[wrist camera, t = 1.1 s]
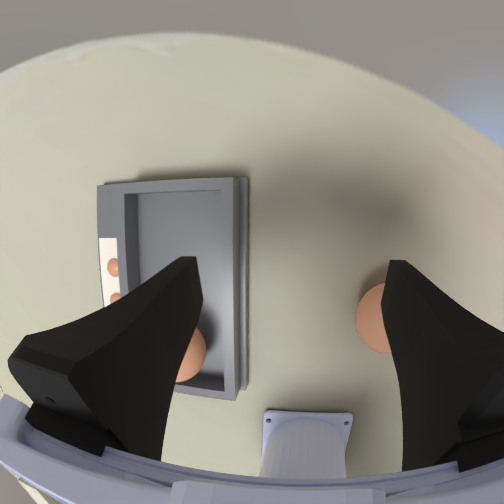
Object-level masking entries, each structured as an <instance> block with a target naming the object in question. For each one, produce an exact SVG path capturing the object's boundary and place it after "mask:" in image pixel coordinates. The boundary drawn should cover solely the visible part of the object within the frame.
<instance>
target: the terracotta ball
mask: <svg viewBox="0 0 504 504" xmlns="http://www.w3.org/2000/svg"><path fill="white" fill-rule="evenodd" d="M384 286H385V283H382V284H379V285H377V286H375V287H373V288H371V289H370V290H369V291H368V292H367V293H366V294H365V295H364V296H363V297H362V299H361V300H360V302H359V304H358V307H357V310H356V316H355V323H356V328H357V332H358V334H359V336H360V338H361V339H362V341H363V342H364V343H365V344H366V345H367V346H368V347H370V348H371V349H373V350H375V351H378V352H381V353H391V349H390V346H389V342H388V339H387V335H386V332H385V328H384V323H383V317H382V311H381V304H380V303H381V299H382V295H383V290H384Z"/></svg>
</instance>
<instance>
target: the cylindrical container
mask: <svg viewBox="0 0 504 504" xmlns="http://www.w3.org/2000/svg"><path fill="white" fill-rule="evenodd" d="M2 397H3V391H2V389H1V386H0V400H1V399H2Z"/></svg>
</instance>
